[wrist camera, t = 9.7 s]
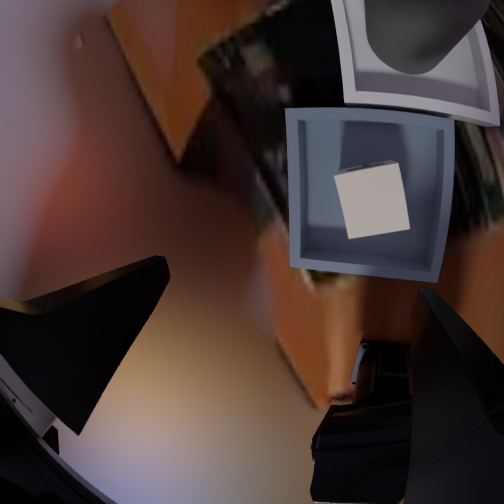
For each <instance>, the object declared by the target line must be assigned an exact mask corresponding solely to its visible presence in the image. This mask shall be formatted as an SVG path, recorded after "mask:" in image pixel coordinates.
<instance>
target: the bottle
mask: <svg viewBox="0 0 504 504" xmlns="http://www.w3.org/2000/svg"><path fill="white" fill-rule="evenodd" d="M489 2H490V0H364V3H365V20H366V34H367V40H368V43H369V45H370V47H371V49H372V51H373V52H374V53H375V55H376V56H377V57H378V58H379V59H380V60H381V61H382V62H383V63H385V64H386V65H388V66H389V67H391V68H393V69H394V70H397V71H399V72H402V73H406V74H412V75H415V74H424V73H426V72H429V71H431V70H432V69H434V68H435V67H436V66H437V65H438V64H439V63H440V62H441V61H442V60H443V59H444V58H445V57H446V56H447V55H448V54H449V52H450V51H451V50H452V49H453V48H454V47H455V46H456V45H457V44H458V43H459V42H460V41H461V40H462V39H463V37H464V36H465V35H466V34H467V33H468V32H469V31H470V30H471V29H472V28H473V27H474V26H475V24H476V23H477V22H478V21H479V20H480V19H481V18H482V16H483V15H484V14H485V12H486V11H487V9H488V7H489Z"/></svg>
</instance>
